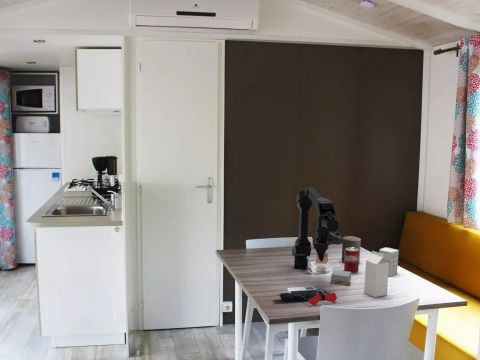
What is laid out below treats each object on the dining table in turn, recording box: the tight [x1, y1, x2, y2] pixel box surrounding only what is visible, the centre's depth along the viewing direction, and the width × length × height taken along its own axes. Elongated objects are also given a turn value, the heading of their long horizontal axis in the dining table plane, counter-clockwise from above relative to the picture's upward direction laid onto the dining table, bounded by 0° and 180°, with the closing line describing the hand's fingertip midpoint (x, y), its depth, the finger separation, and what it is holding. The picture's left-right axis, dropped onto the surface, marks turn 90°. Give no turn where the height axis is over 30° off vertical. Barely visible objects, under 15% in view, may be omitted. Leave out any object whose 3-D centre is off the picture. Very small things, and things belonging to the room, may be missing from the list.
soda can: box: [343, 248, 360, 275], centre depth 255 cm, size 7×7×12 cm
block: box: [315, 252, 329, 265], centre depth 234 cm, size 5×5×4 cm
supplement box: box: [378, 246, 400, 277], centre depth 253 cm, size 7×7×13 cm
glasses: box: [296, 288, 338, 307], centre depth 216 cm, size 14×16×5 cm
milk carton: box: [363, 250, 389, 298], centre depth 222 cm, size 7×7×19 cm
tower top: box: [330, 269, 352, 282], centre depth 239 cm, size 8×8×2 cm
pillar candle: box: [341, 235, 362, 265], centre depth 271 cm, size 10×10×15 cm
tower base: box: [330, 277, 352, 287], centre depth 239 cm, size 9×9×2 cm
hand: (322, 259), depth 234 cm, fingers closed on block, 5 cm apart
